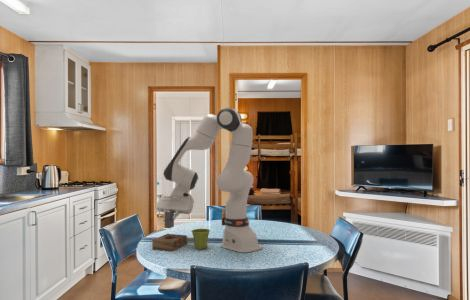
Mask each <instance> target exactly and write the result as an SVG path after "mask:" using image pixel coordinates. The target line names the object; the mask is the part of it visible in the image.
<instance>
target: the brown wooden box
mask: <svg viewBox="0 0 470 300" xmlns="http://www.w3.org/2000/svg"><path fill="white" fill-rule="evenodd" d="M186 245H188V236H187V235H186V234H177V233H175V234H174V233H166V234H164V235H161V236H159V237H156V238H154V239H152V248H151V249H152V250H156V251H165V252H175V251H177V250H179V249H180V248H183V247H184V246H186Z"/></svg>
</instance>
